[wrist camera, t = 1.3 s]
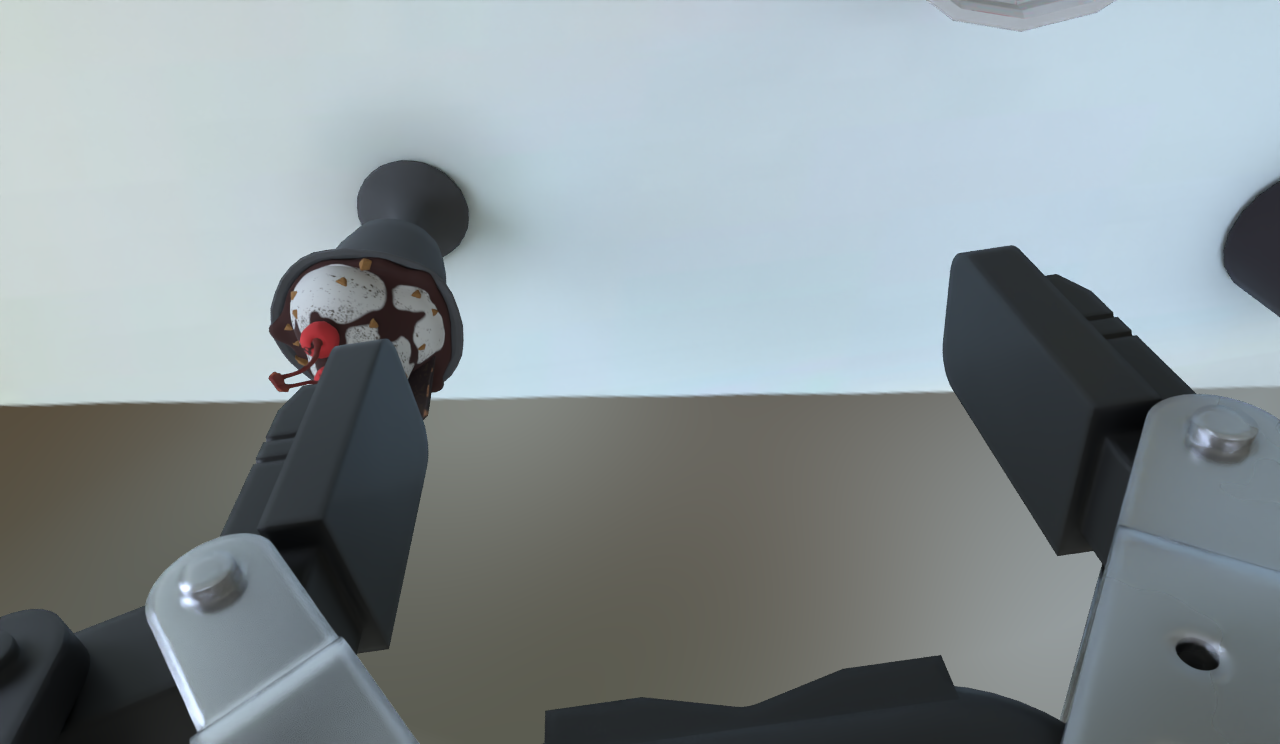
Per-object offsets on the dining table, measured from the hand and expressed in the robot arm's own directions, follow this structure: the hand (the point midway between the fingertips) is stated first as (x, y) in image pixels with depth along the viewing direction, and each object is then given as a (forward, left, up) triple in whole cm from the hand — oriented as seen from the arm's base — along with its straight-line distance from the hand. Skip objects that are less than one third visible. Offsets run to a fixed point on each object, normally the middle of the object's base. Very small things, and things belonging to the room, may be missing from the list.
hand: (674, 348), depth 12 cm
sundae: (+5, -12, -26) cm, 29 cm away
